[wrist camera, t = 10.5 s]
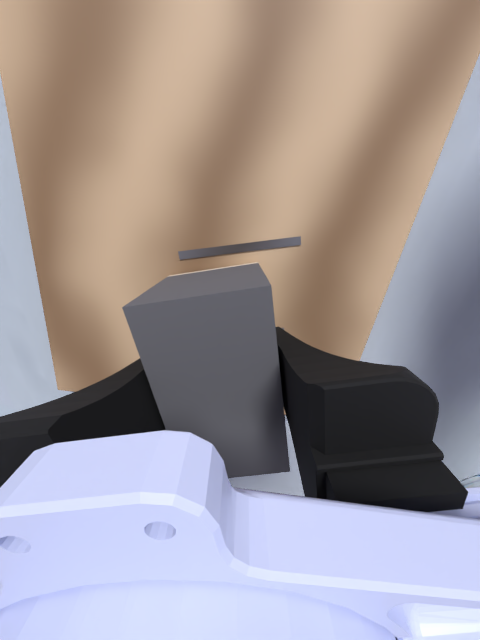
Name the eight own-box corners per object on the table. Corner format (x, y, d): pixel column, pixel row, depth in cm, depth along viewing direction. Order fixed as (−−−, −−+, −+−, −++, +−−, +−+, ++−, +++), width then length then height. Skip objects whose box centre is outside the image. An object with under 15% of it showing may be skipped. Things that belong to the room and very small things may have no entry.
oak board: (500, -60, 8) (542, -106, 7) (329, 407, 16) (336, 420, 15) (-15, -187, 7) (-63, -266, 6) (70, 378, 15) (57, 390, 14)
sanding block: (257, 262, 11) (271, 285, 7) (273, 392, 14) (289, 471, 10) (169, 275, 12) (122, 307, 7) (202, 400, 14) (184, 482, 10)
